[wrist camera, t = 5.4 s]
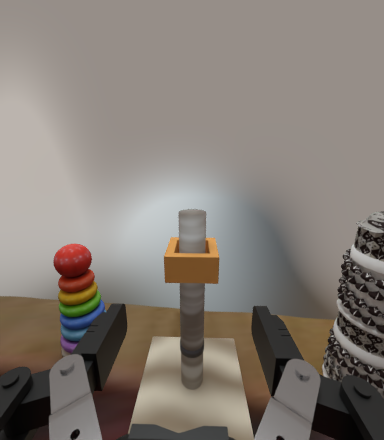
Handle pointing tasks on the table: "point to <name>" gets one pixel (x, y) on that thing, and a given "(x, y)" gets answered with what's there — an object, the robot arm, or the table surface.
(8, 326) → the table surface
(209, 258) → the collar
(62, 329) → the stacking toy
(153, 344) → the post stand
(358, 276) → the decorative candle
